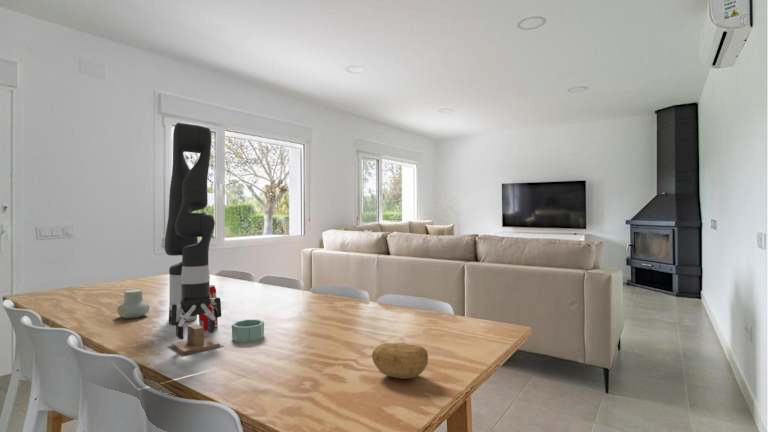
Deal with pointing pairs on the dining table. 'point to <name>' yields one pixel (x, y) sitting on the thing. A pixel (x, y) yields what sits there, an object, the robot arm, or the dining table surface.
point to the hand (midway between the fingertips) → (195, 335)
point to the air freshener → (133, 305)
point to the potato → (400, 359)
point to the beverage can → (203, 318)
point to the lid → (195, 341)
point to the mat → (191, 353)
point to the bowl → (247, 330)
